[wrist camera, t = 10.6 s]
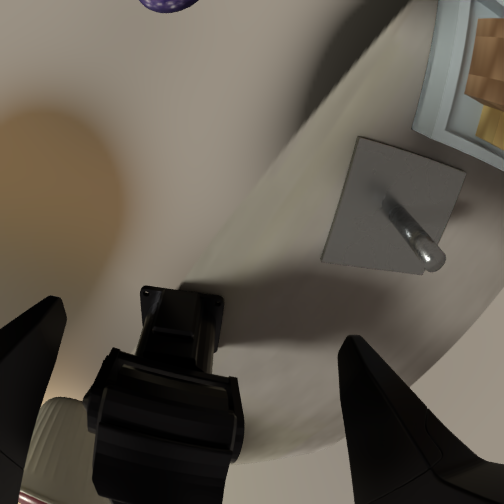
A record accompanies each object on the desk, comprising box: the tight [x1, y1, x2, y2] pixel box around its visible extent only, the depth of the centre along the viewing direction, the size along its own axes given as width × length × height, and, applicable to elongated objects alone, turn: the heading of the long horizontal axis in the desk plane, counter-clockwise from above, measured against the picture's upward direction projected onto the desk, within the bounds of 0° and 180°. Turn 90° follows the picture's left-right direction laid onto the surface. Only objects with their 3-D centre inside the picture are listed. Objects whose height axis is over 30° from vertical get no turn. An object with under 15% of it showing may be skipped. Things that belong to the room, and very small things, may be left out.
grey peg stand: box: [321, 136, 466, 275], centre depth 18 cm, size 9×9×6 cm
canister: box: [18, 397, 111, 504], centre depth 28 cm, size 18×18×21 cm
